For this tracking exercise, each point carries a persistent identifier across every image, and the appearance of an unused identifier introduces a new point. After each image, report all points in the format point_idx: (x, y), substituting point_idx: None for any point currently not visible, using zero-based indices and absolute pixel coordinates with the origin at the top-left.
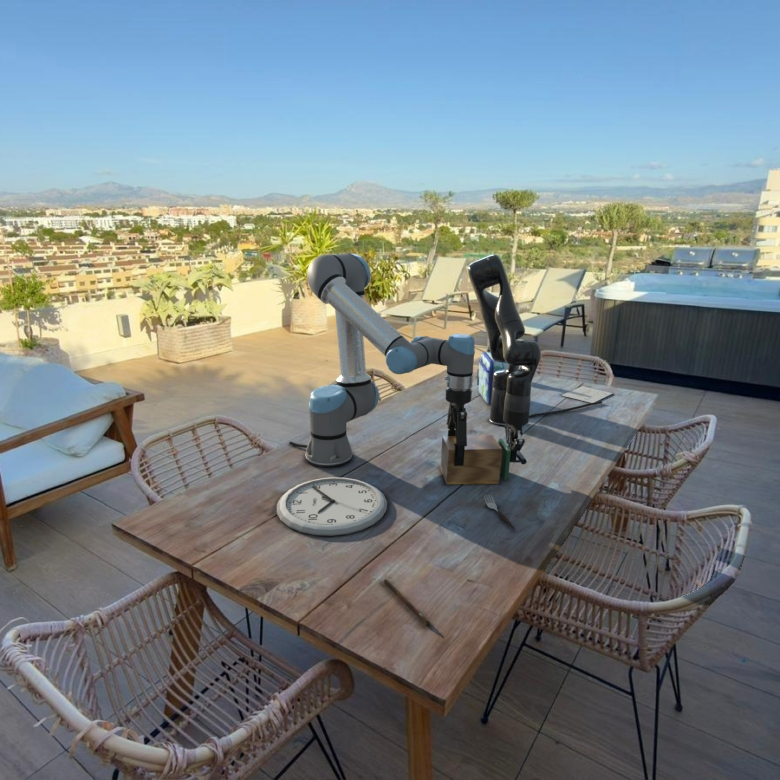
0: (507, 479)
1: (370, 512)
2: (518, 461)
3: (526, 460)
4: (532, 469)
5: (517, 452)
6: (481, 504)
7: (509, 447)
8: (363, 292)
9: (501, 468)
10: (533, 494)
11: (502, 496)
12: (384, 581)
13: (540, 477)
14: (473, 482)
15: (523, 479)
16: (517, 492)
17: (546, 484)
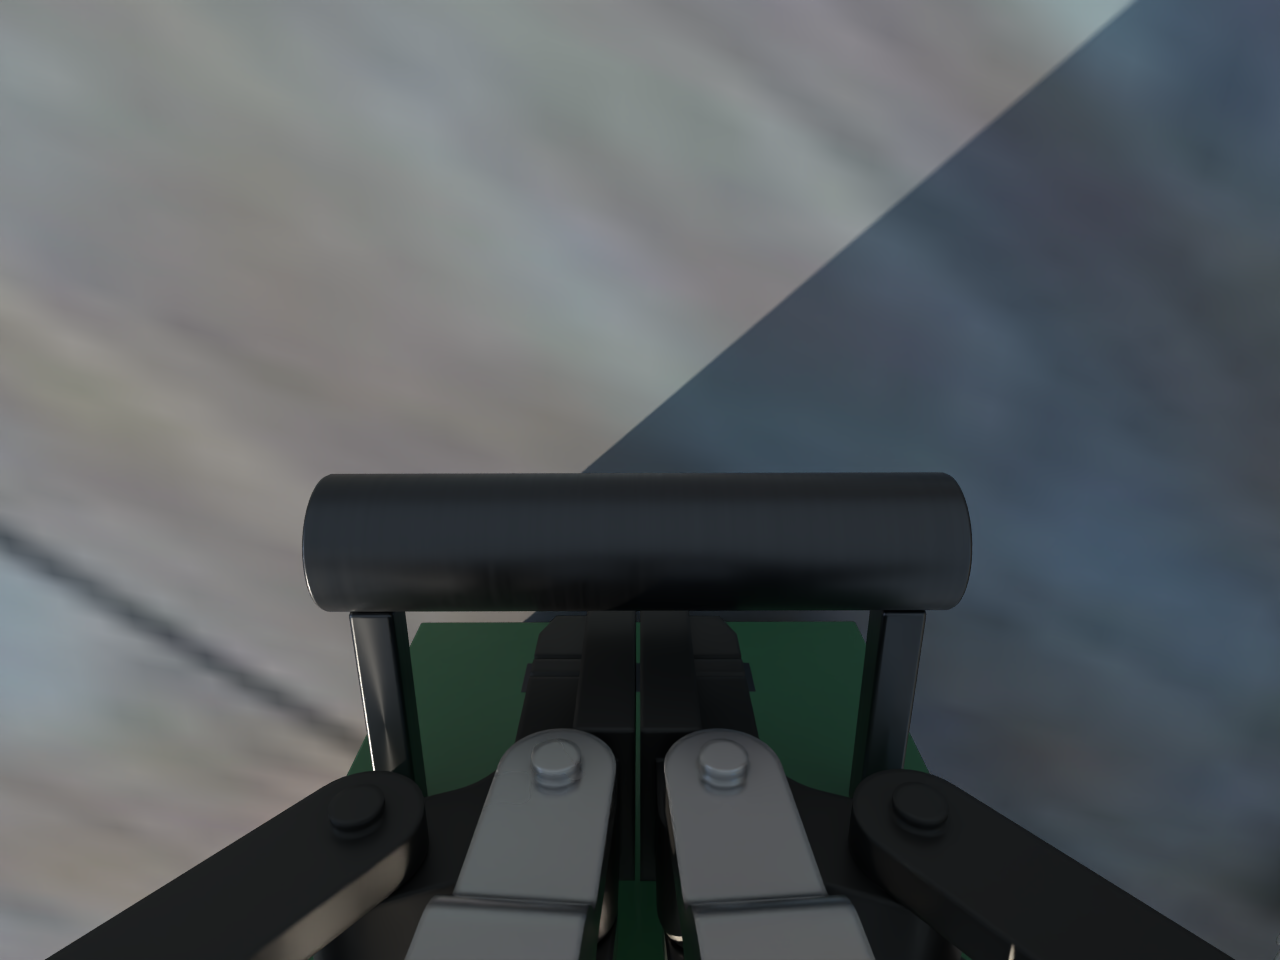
0: (851, 628)
1: None
2: (913, 643)
3: (961, 495)
4: (433, 90)
5: (561, 601)
6: (1256, 948)
7: (616, 916)
8: None
9: None
10: (1239, 371)
11: (1167, 742)
12: None
13: (743, 51)
14: None
15: (783, 367)
16: (1126, 559)
17: (1002, 38)
